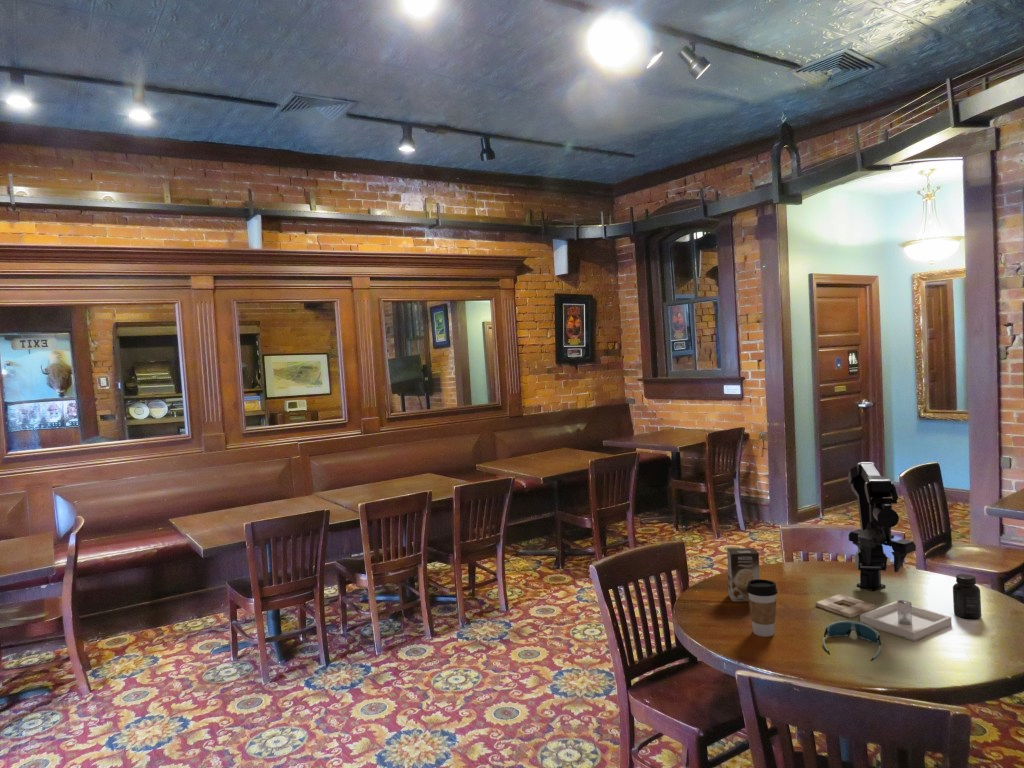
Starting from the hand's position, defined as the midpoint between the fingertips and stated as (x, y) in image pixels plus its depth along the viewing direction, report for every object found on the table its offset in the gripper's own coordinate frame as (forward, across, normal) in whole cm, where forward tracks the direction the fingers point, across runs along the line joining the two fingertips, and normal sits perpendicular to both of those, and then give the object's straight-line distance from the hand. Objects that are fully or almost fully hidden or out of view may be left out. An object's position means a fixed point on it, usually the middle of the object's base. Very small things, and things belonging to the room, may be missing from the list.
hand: (881, 568), depth 213 cm
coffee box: (+12, -30, -28) cm, 43 cm away
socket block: (+12, -6, -10) cm, 17 cm away
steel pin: (+11, +12, -8) cm, 18 cm away
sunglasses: (+12, +12, -32) cm, 37 cm away
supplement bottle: (+12, +19, +11) cm, 25 cm away
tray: (+12, +12, -8) cm, 19 cm away
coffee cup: (+12, -8, -44) cm, 46 cm away
